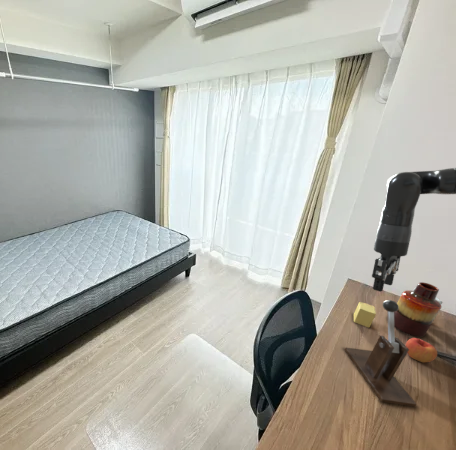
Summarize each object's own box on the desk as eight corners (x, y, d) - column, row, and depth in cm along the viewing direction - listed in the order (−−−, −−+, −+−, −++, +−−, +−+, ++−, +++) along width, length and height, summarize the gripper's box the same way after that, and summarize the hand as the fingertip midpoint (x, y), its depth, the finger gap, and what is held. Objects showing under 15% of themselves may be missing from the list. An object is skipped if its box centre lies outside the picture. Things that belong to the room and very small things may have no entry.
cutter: (344, 350, 88) (358, 318, 82) (370, 354, 87) (387, 322, 81) (380, 402, 71) (402, 367, 65) (414, 407, 70) (439, 372, 64)
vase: (427, 342, 93) (454, 299, 85) (389, 328, 98) (411, 287, 91) (421, 326, 101) (445, 285, 93) (386, 314, 106) (407, 274, 99)
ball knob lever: (379, 298, 78) (389, 300, 74) (391, 299, 77) (401, 301, 74) (380, 348, 76) (390, 352, 72) (393, 350, 75) (403, 354, 72)
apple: (432, 371, 81) (444, 354, 78) (403, 359, 85) (413, 342, 82) (427, 356, 87) (438, 340, 84) (400, 345, 91) (409, 329, 88)
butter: (367, 320, 102) (374, 306, 99) (368, 328, 98) (376, 314, 95) (353, 315, 105) (359, 301, 102) (353, 322, 101) (360, 308, 98)
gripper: (401, 244, 68) (390, 297, 71) (416, 237, 75) (405, 286, 78) (367, 238, 74) (358, 288, 77) (384, 233, 81) (376, 278, 85)
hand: (382, 287), depth 78 cm, fingers open, 8 cm apart
